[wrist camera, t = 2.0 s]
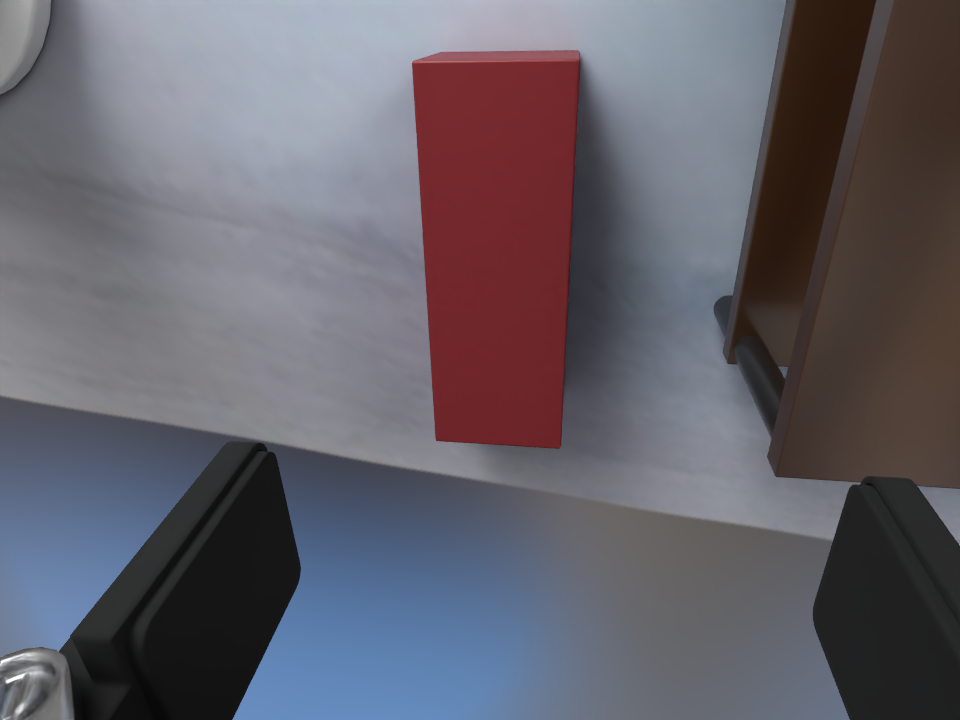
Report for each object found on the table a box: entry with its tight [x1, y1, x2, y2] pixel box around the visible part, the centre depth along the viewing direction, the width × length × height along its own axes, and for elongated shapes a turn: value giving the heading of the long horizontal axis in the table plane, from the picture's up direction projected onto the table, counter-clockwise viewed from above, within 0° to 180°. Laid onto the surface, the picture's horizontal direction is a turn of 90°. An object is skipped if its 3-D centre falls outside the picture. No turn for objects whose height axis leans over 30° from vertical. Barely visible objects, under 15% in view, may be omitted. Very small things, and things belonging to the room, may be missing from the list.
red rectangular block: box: [412, 50, 580, 449], centre depth 26 cm, size 5×15×5 cm, turn 1°
